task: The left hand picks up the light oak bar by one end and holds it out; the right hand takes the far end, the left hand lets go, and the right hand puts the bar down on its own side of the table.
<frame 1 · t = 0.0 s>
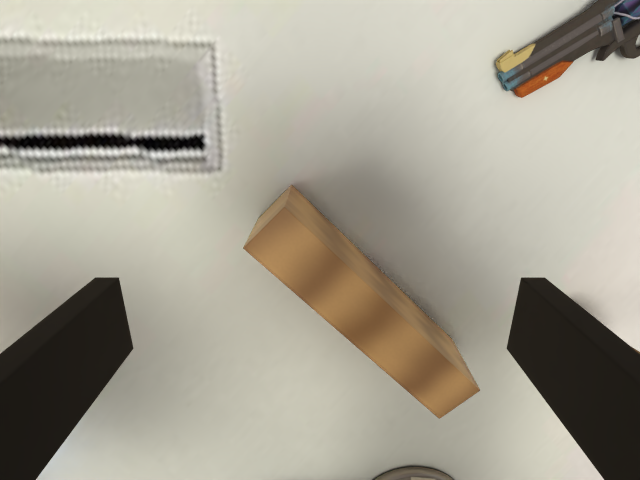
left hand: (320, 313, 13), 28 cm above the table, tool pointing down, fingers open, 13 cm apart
toy gun: (605, 50, 35), on the table
bar: (361, 282, 43), on the table
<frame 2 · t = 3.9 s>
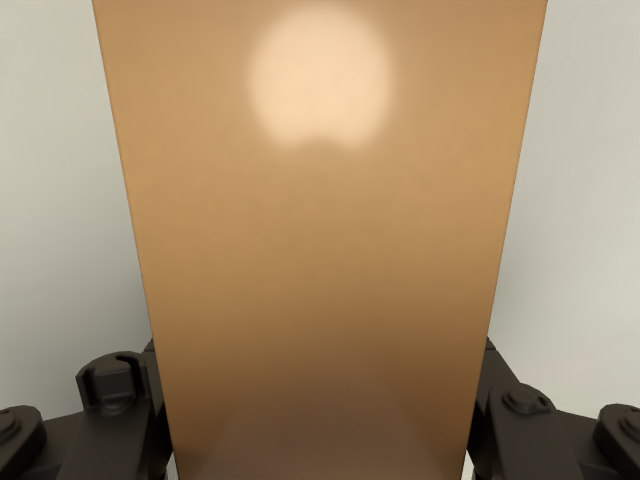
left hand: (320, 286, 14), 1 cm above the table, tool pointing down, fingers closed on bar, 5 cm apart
bar: (319, 2, 12), on the table, touching left hand
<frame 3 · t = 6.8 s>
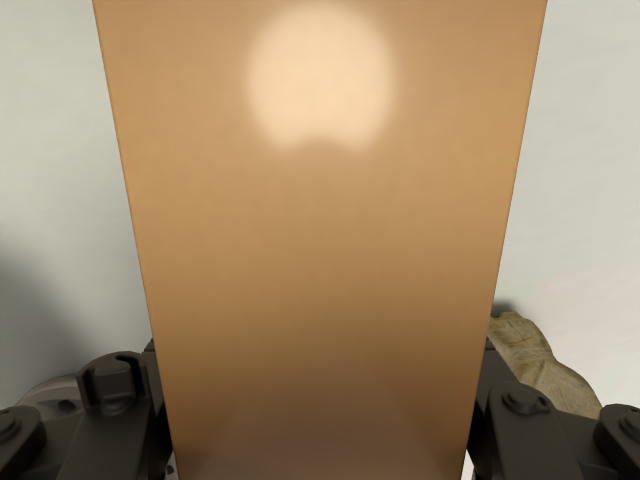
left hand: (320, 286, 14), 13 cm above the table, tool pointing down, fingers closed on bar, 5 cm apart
bar: (319, 2, 12), point 12 cm above the table, touching left hand
sculpture: (489, 338, 30), on the table
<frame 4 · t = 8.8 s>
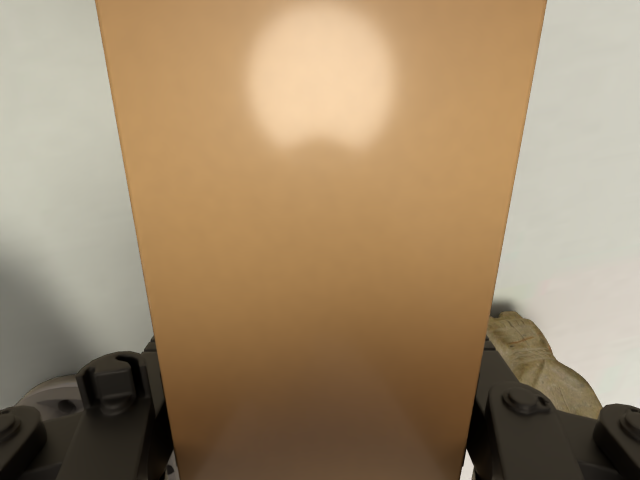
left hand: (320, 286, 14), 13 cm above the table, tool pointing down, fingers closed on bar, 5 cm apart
bar: (320, 2, 12), point 12 cm above the table, touching left hand, right hand
sculpture: (489, 338, 30), on the table
when the left hand's fingers open (13 cm above the table, at t = 9.6 s): bar stays where it is, held by the right hand.
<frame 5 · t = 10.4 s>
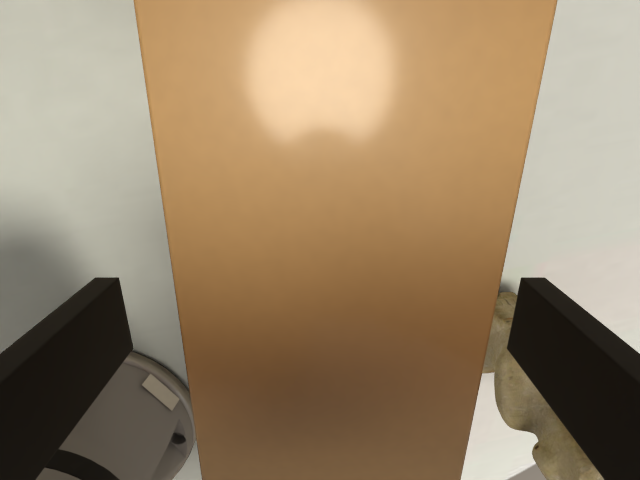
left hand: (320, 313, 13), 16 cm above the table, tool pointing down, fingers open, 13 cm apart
sculpture: (488, 319, 32), on the table
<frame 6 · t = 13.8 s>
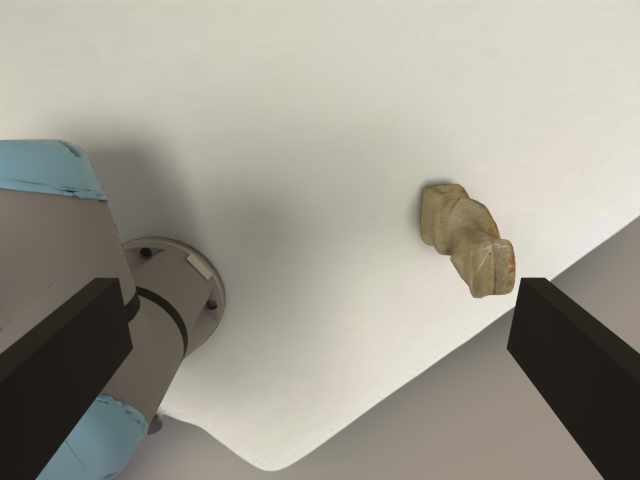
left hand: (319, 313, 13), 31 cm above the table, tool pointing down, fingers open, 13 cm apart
sculpture: (437, 209, 44), on the table
when the right hand's fingers open (4 cm above the table, at t = 19.0 s): bar stays where it is, on the table.
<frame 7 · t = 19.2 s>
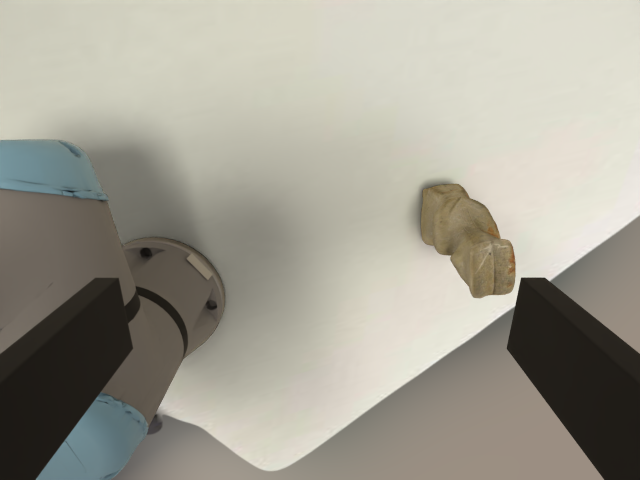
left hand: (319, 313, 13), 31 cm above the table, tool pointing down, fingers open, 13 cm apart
sculpture: (437, 209, 44), on the table
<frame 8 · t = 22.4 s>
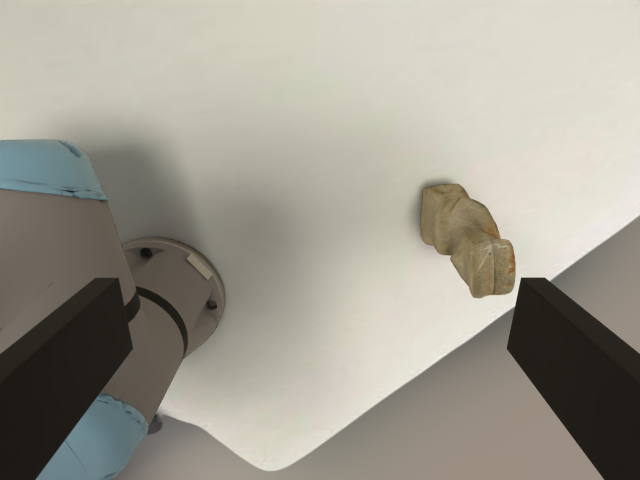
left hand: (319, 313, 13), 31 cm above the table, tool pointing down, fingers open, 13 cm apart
sculpture: (437, 209, 44), on the table
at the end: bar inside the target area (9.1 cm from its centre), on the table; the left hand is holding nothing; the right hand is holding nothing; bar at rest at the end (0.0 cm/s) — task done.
